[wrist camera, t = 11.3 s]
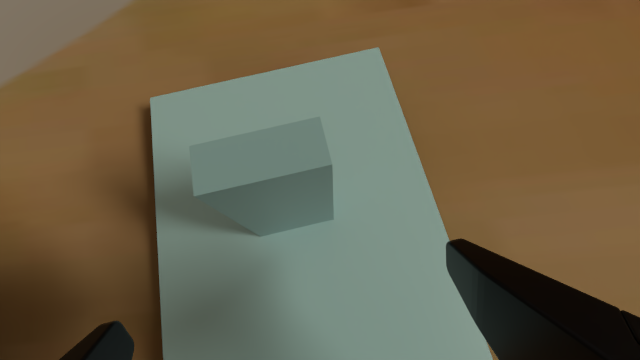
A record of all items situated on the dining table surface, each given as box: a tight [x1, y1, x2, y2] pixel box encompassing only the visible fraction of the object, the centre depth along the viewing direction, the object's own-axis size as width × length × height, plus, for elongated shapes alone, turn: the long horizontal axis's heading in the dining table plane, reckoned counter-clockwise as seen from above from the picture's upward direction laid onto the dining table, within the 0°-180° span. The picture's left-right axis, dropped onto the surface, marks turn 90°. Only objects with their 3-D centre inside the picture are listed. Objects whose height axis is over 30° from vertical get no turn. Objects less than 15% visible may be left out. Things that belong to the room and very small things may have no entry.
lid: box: [150, 47, 493, 360], centre depth 13 cm, size 19×15×10 cm
